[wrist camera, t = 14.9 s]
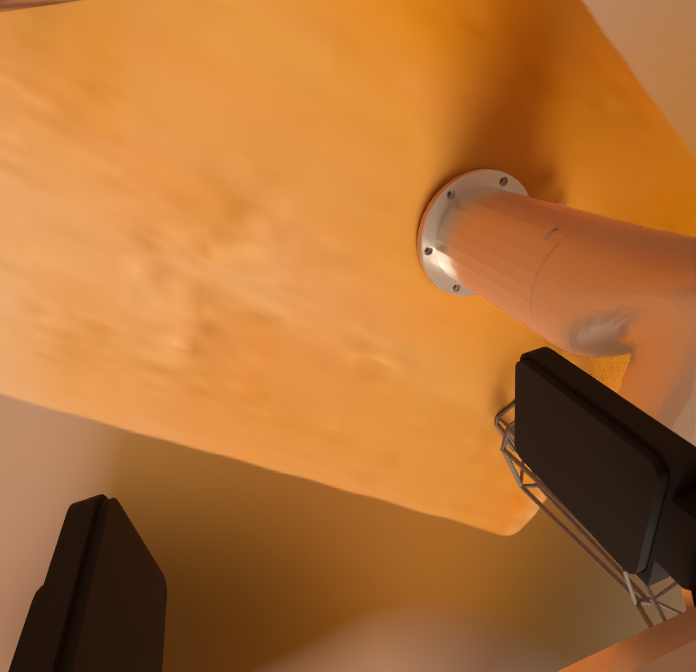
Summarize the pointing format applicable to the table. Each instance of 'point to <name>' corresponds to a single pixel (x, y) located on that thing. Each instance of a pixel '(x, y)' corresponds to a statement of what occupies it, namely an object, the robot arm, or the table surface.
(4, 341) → the table surface
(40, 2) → the walnut plinth
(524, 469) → the geometric lantern
